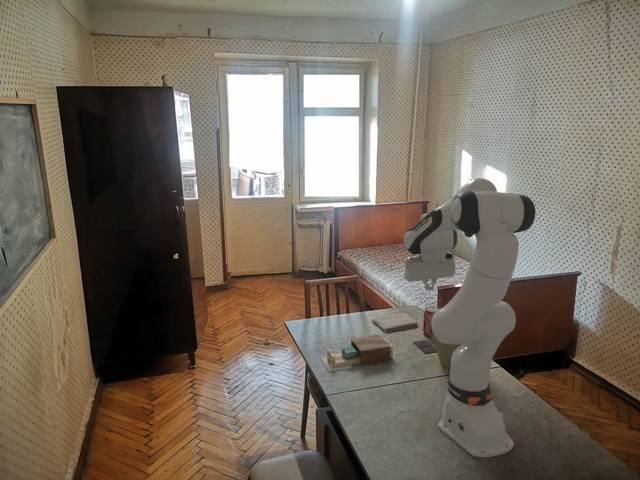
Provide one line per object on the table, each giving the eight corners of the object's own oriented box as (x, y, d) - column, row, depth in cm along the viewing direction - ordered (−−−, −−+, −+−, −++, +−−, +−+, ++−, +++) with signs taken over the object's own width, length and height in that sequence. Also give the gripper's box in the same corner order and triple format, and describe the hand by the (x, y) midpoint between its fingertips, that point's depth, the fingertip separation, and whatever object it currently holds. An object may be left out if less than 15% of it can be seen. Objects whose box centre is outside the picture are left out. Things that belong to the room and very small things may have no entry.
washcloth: (419, 327, 208) (419, 320, 207) (384, 334, 202) (385, 327, 201) (405, 317, 219) (405, 311, 218) (371, 323, 212) (371, 317, 211)
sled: (392, 356, 180) (392, 346, 179) (332, 367, 173) (332, 356, 172) (385, 349, 186) (386, 339, 185) (327, 359, 179) (327, 349, 178)
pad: (352, 367, 174) (352, 367, 174) (329, 371, 171) (329, 371, 171) (343, 355, 183) (343, 354, 183) (321, 358, 180) (321, 358, 180)
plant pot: (448, 350, 186) (450, 314, 182) (478, 366, 174) (482, 327, 170) (421, 361, 178) (423, 323, 174) (451, 378, 166) (454, 338, 162)
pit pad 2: (438, 351, 185) (438, 350, 185) (425, 353, 183) (425, 353, 183) (432, 346, 189) (432, 345, 189) (419, 348, 187) (419, 348, 187)
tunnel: (389, 361, 178) (390, 346, 176) (361, 366, 174) (361, 351, 173) (378, 349, 187) (378, 334, 186) (351, 353, 184) (351, 338, 182)
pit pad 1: (431, 345, 190) (431, 344, 190) (418, 347, 188) (418, 347, 188) (425, 340, 194) (425, 339, 194) (413, 342, 193) (413, 342, 192)
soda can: (441, 338, 196) (442, 312, 193) (424, 338, 196) (425, 312, 193) (437, 331, 203) (438, 305, 200) (421, 331, 203) (422, 305, 200)
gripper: (409, 259, 167) (409, 295, 170) (458, 254, 173) (456, 289, 176) (401, 255, 173) (401, 290, 176) (449, 250, 179) (447, 284, 182)
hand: (429, 289), depth 176 cm, fingers closed
